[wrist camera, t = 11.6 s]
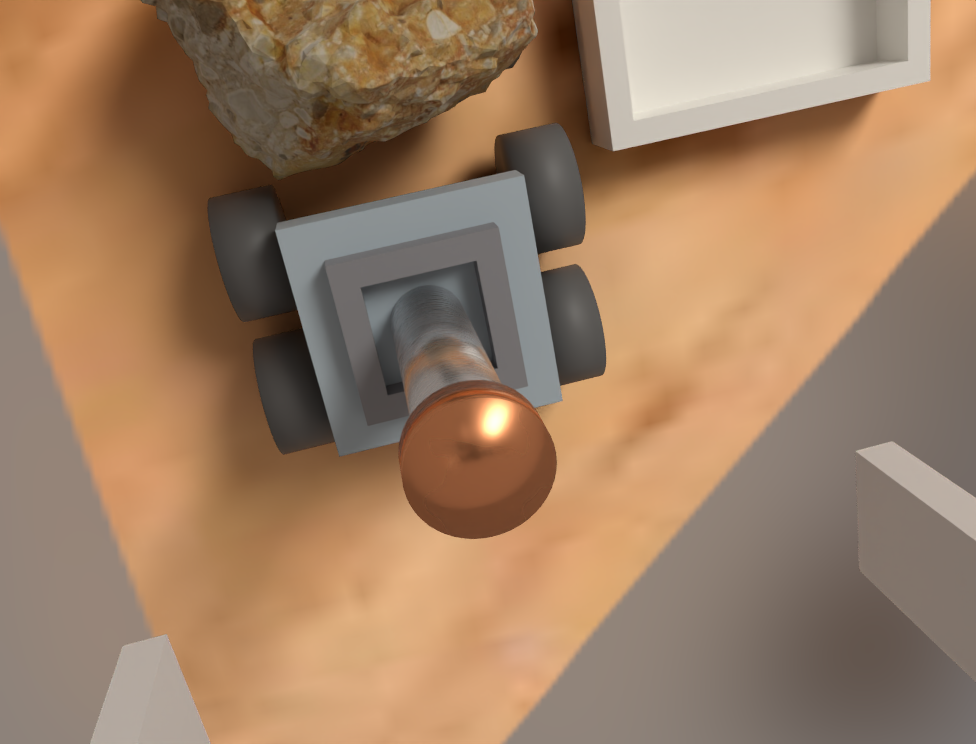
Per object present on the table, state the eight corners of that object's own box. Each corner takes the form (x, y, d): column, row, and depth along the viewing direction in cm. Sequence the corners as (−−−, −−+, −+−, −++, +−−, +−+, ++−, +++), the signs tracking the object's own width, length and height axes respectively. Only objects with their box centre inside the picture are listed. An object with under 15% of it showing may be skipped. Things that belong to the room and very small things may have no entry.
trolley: (216, 189, 36) (190, 224, 29) (542, 118, 37) (594, 134, 30) (288, 425, 40) (281, 507, 33) (579, 354, 41) (633, 417, 34)
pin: (366, 283, 31) (386, 418, 20) (469, 262, 32) (545, 382, 21) (388, 379, 33) (419, 554, 22) (486, 357, 33) (566, 518, 22)
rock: (288, 156, 37) (220, 249, 29) (168, -101, 33) (43, -82, 24) (555, 64, 35) (568, 135, 27) (469, -228, 30) (451, -257, 22)
